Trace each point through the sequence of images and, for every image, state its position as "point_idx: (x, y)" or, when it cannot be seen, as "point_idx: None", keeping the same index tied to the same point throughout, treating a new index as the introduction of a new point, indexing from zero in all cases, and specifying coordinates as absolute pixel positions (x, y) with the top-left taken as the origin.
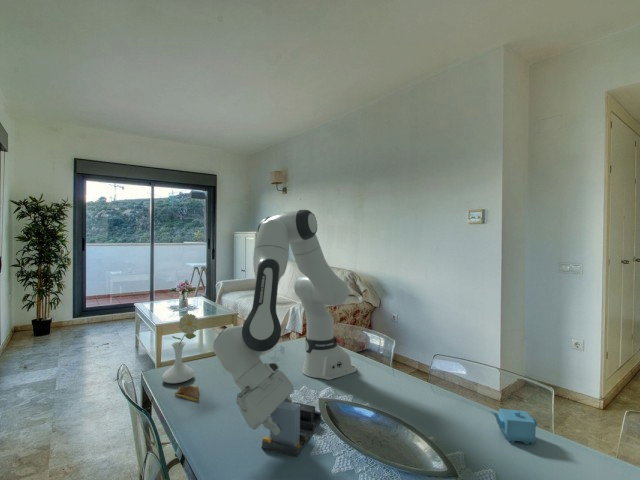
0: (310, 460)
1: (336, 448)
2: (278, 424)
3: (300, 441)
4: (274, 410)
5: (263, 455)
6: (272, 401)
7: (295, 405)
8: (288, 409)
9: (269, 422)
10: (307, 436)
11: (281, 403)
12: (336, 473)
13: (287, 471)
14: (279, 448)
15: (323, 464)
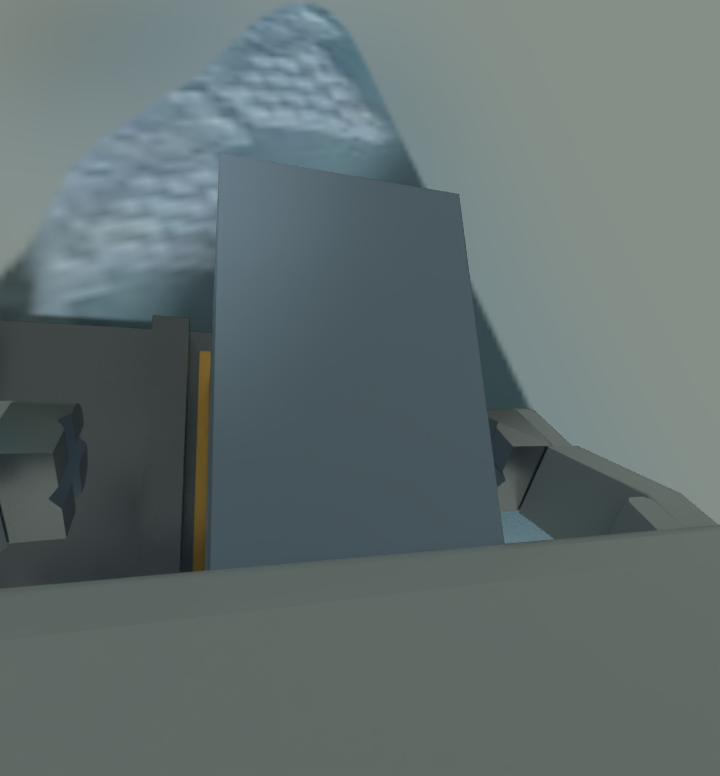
0: None
1: (169, 129)
2: (519, 439)
3: (201, 370)
4: (582, 538)
5: None
6: (640, 685)
7: (285, 227)
8: (465, 304)
9: (680, 498)
10: (104, 340)
11: (330, 539)
12: (385, 118)
13: (482, 353)
14: None
15: None
